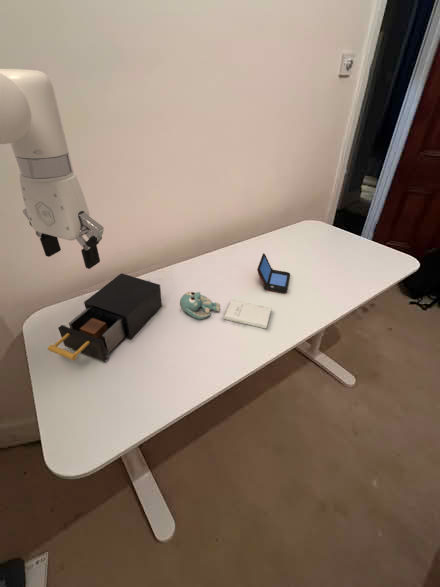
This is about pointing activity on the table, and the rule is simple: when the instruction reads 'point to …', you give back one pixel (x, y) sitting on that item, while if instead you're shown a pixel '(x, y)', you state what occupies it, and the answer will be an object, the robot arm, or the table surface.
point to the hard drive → (248, 314)
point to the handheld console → (273, 277)
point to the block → (94, 328)
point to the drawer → (88, 343)
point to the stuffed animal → (197, 305)
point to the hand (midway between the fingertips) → (73, 259)
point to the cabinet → (128, 301)
